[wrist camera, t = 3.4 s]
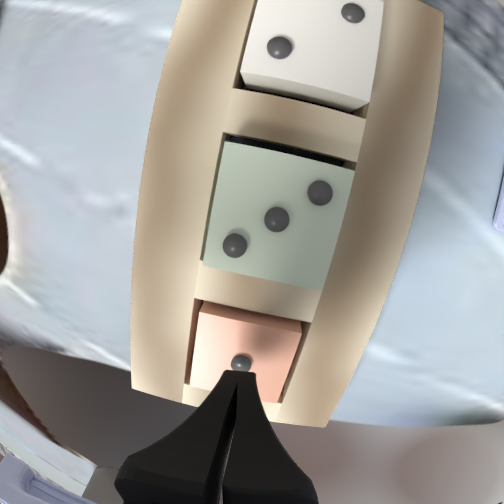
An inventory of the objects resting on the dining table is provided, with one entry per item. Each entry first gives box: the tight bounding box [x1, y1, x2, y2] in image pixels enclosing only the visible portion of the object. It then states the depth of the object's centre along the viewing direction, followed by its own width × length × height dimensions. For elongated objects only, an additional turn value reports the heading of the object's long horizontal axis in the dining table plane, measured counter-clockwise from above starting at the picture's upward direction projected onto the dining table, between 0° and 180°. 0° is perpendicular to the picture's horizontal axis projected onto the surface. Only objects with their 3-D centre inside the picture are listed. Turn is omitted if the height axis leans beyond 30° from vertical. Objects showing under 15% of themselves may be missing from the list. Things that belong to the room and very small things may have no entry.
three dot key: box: [203, 141, 355, 291], centre depth 13 cm, size 5×5×3 cm
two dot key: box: [240, 0, 384, 112], centre depth 10 cm, size 5×5×3 cm
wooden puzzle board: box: [131, 0, 444, 427], centre depth 14 cm, size 12×24×2 cm, turn 168°
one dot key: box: [190, 301, 302, 403], centre depth 16 cm, size 5×5×3 cm
